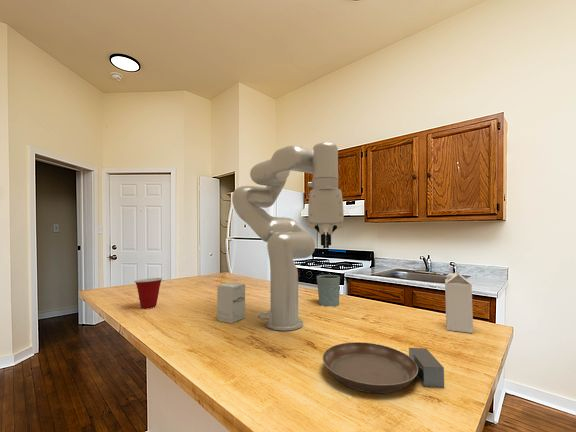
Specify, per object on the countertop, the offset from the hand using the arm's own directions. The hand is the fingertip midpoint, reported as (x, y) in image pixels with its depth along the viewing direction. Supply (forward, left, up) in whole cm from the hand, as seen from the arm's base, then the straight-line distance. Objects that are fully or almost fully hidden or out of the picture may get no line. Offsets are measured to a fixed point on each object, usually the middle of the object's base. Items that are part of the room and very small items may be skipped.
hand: (325, 247), depth 87 cm
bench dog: (+21, -18, -27) cm, 39 cm away
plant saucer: (+9, -18, -28) cm, 34 cm away
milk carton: (+43, +15, -27) cm, 53 cm away
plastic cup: (-74, +33, -27) cm, 85 cm away
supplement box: (-34, +19, -27) cm, 48 cm away
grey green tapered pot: (+2, +44, -27) cm, 52 cm away
